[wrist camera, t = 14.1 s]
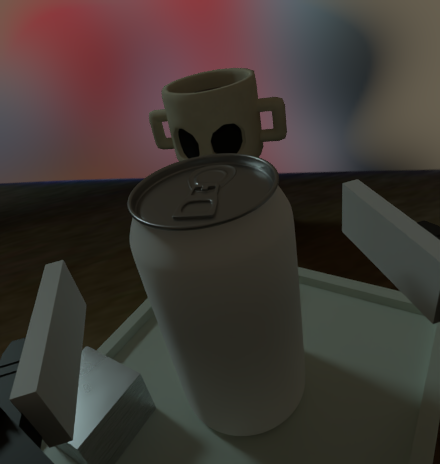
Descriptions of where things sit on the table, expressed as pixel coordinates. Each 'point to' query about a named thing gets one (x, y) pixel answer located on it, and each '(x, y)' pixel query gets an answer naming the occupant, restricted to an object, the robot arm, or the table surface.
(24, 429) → the robot arm
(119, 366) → the grey metal block
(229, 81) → the character mug
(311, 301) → the tray
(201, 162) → the can
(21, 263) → the table surface
